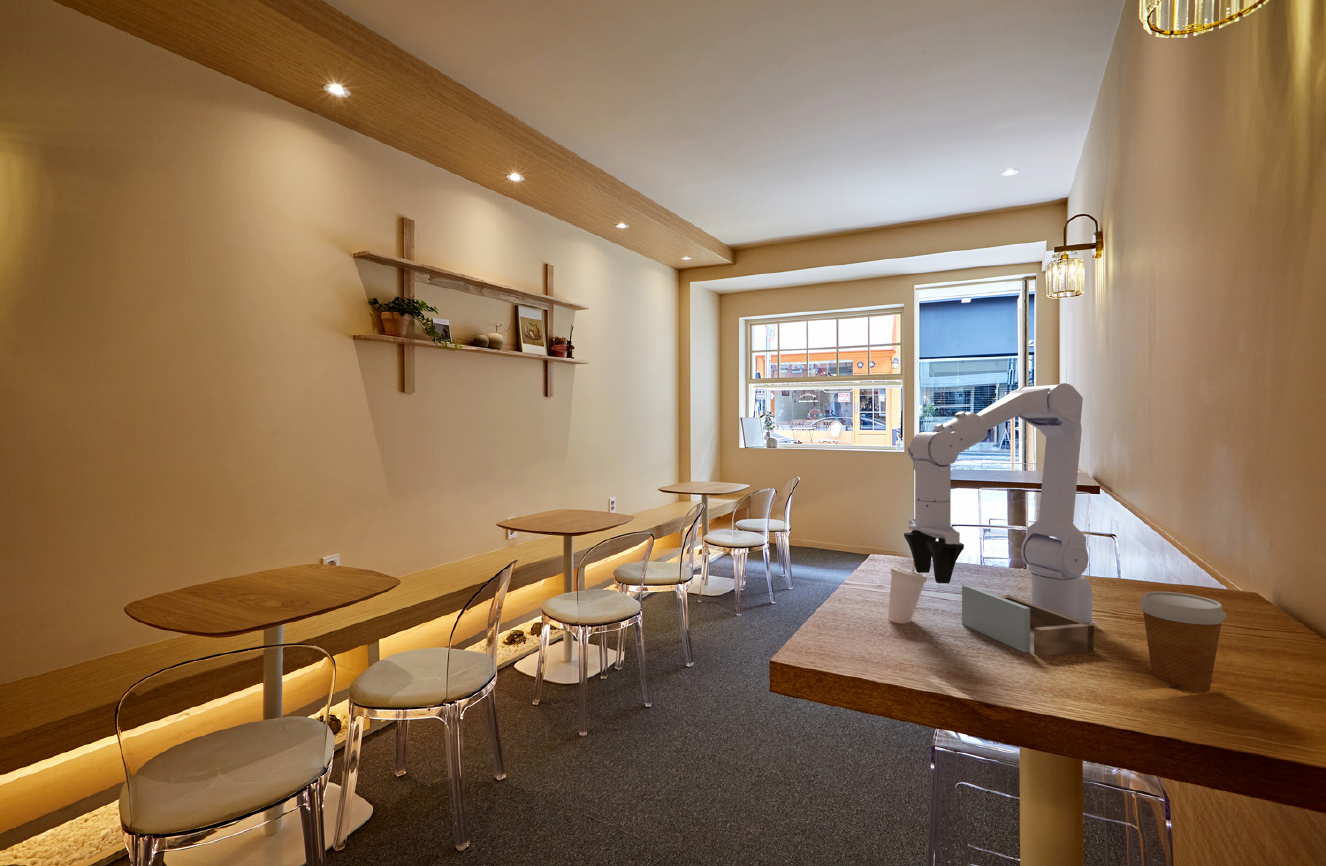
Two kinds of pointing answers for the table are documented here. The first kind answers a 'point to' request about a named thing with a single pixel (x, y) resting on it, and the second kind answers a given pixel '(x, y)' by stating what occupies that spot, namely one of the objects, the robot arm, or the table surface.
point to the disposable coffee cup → (1182, 638)
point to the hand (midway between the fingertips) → (932, 577)
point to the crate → (1056, 631)
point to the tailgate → (996, 617)
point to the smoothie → (904, 593)
